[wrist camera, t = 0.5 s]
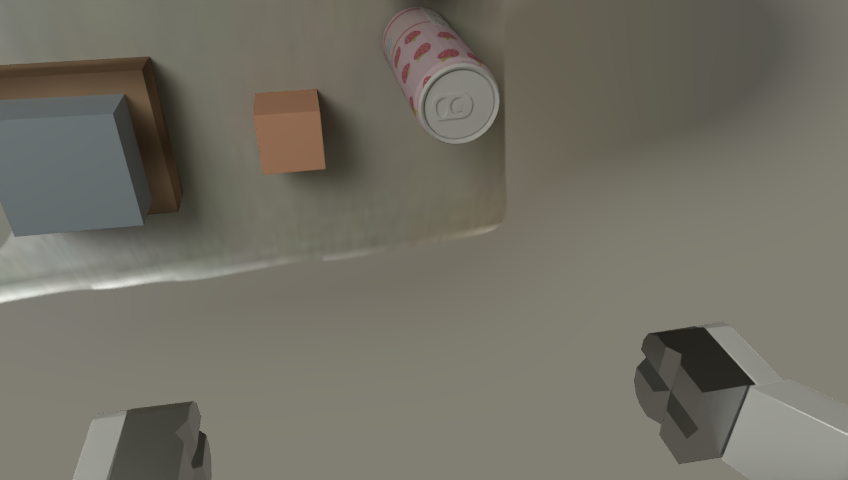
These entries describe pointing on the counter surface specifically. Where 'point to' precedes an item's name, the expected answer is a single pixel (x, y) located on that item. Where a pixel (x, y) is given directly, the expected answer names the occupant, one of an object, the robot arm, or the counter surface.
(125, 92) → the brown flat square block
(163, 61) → the counter surface
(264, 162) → the rust cube
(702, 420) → the robot arm
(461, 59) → the beverage can
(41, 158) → the grey block
